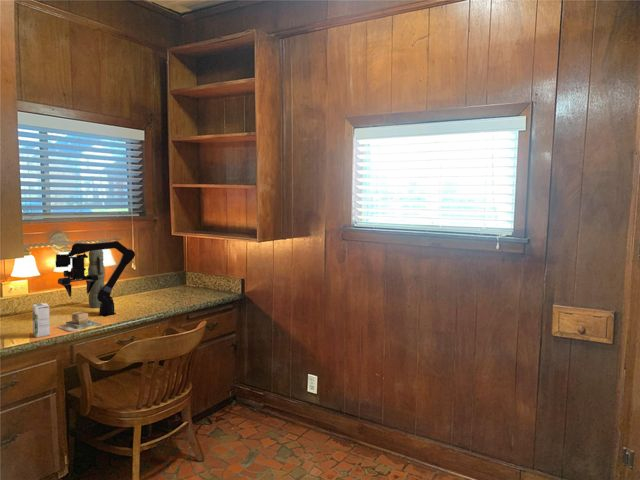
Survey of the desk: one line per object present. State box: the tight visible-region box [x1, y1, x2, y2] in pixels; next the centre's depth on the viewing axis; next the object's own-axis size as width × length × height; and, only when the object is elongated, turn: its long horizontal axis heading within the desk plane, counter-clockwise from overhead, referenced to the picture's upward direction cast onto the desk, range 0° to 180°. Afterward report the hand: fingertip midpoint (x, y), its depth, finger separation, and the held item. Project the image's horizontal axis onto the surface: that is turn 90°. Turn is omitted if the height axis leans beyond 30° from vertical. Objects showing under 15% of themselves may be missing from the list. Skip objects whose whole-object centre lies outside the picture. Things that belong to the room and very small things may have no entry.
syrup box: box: [32, 302, 51, 338], centre depth 200 cm, size 6×6×14 cm
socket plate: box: [57, 319, 103, 333], centre depth 215 cm, size 16×12×2 cm
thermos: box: [87, 250, 106, 309], centre depth 254 cm, size 9×12×35 cm
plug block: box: [71, 311, 89, 325], centre depth 215 cm, size 7×4×6 cm, turn 55°
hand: (79, 295), depth 231 cm, fingers open, 9 cm apart
